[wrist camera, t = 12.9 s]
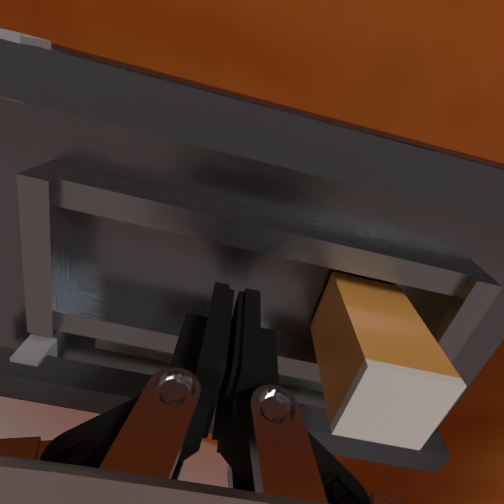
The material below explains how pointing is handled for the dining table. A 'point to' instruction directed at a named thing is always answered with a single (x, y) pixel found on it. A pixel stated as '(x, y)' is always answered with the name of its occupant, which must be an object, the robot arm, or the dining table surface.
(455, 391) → the block
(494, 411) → the dining table surface
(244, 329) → the robot arm
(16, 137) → the panel
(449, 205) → the pair of grey rails
